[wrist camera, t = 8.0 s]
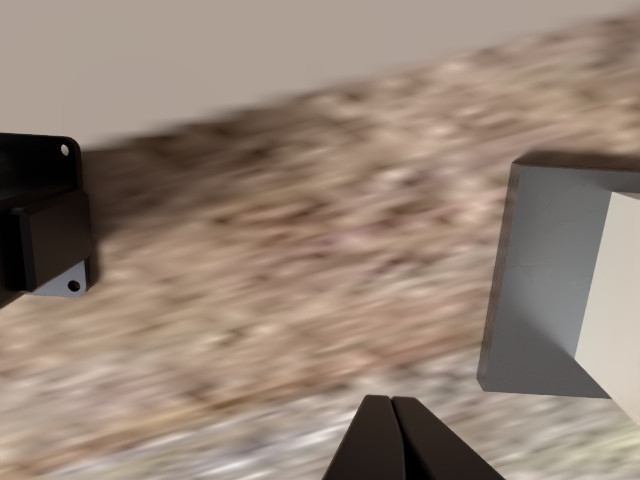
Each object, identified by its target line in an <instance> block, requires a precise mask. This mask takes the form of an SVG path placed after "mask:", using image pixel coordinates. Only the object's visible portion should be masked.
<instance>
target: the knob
mask: <svg viewBox="0 0 640 480" xmlns="http://www.w3.org/2000/svg"><path fill="white" fill-rule="evenodd" d="M575 360H576V361H577V362H578V363H579V364H580V366H581V367H582V368H583V369H584V370H585V371H586V372H587V373H588V374H589V375H590V376H591V377H592V378H593V379H594V380H595V381H596V382H597V383H598V384H599V385H600V386H601V387H602V388H603V389H604V390H605V392H606V393H607V394H608V395H609V396H610V397H611V398H612V399H613V400H614V401H615V402H616V403H617V404H618V405H619V406H620V407H621V408H622V409H623V410H624V411H625V412H626V413H627V414H628V415H629V416H630V418H631V419H632V420H633V421H634V422H635V423H636V424H637V425H638V426H639V427H640V193H626V192H612V194H611V199H610V203H609V208H608V212H607V216H606V221H605V225H604V230H603V234H602V239H601V243H600V248H599V252H598V256H597V261H596V265H595V270H594V274H593V279H592V283H591V288H590V292H589V296H588V301H587V305H586V310H585V314H584V319H583V323H582V328H581V332H580V336H579V341H578V345H577V350H576V354H575Z"/></svg>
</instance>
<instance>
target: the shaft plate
mask: <svg viewBox="0 0 640 480" xmlns="http://www.w3.org/2000/svg"><path fill="white" fill-rule="evenodd" d="M612 192H626V193H640V170H625V169H608V168H592V167H575V166H558V165H542V164H525V163H512V166H511V172H510V178H509V184H508V190H507V196H506V202H505V208H504V214H503V220H502V226H501V233H500V239H499V245H498V251H497V257H496V263H495V269H494V275H493V281H492V287H491V293H490V299H489V305H488V311H487V317H486V323H485V329H484V335H483V341H482V348H481V354H480V360H479V366H478V372H477V380H478V382H479V384H480V386H481V388H482V390H483V391H488V392H505V393H521V394H538V395H555V396H572V397H588V398H605V399H612V398H611V397H610V396H609V395H608V394H607V393H606V392H605V390H604V389H603V388H602V387H601V386H600V385H599V384H598V383H597V382H596V381H595V380H594V379H593V378H592V377H591V376H590V375H589V374H588V373H587V372H586V371H585V370H584V369H583V368H582V367H581V366H580V364H579V363H578V362H577V361H576V360H575V354H576V350H577V345H578V341H579V336H580V332H581V328H582V323H583V319H584V314H585V310H586V305H587V301H588V296H589V292H590V288H591V283H592V279H593V274H594V270H595V265H596V261H597V256H598V252H599V248H600V243H601V239H602V234H603V230H604V225H605V221H606V216H607V212H608V208H609V203H610V199H611V194H612Z"/></svg>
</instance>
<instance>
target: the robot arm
mask: <svg viewBox="0 0 640 480" xmlns="http://www.w3.org/2000/svg"><path fill="white" fill-rule="evenodd" d="M63 144H64V145H66V146H67V147H68V150H69V153H68V155H67V156H65V155H64V154H63V153H62V151H61V146H62V145H63ZM91 254H92V239H91V225H90V212H89V198H88V194H87V193H86V192H85V190H84V189H83V178H82V164H81V151H80V147H79V145H78V143H77V142H76V141H75V140H74V139H72V138H70V137H64V136H48V135H32V134H14V133H0V310H1V309H2V308H4V307H5V306H7V305H9V304H10V303H12V302H13V301H15V300H16V299H18V298H20V297H21V296H23V295H24V294H27V295H44V296H60V297H80V296H82V295H83V294H84V293H86V292H87V291H88V290H89V288H90V284H91V282H90V269H89V255H91ZM73 280H75V281H77V282H78V283H79V285H80V288H76V287H75V286H74V285H73ZM322 480H506V479H504V478H503V477H502V476H501V475H500V474H499V473H498V472H497V471H496V470H495V469H493V468H492V467H491V466H490V465H489V464H488V463H487V462H486V461H485V460H484V459H482V458H481V457H480V456H479V455H478V454H477V453H476V452H475V451H474V450H473V449H471V448H470V447H469V446H468V445H467V444H466V443H465V442H464V441H463V440H462V439H460V438H459V437H458V436H457V435H456V434H455V433H454V432H453V431H452V430H450V429H449V428H448V427H447V426H446V425H445V424H444V423H443V422H442V421H441V420H439V419H438V418H437V417H436V416H435V415H434V414H433V413H432V412H431V411H430V410H428V409H427V408H426V407H425V406H424V405H423V404H422V403H421V402H420V401H419V400H417V399H416V398H414V397H400V396H394V397H392V398H391V399H390V397H388V396H383V395H366V396H365V397H364V399H363V401H362V403H361V405H360V407H359V409H358V410H357V412H356V414H355V416H354V418H353V420H352V422H351V424H350V426H349V428H348V430H347V432H346V434H345V436H344V438H343V440H342V442H341V443H340V445H339V447H338V449H337V451H336V453H335V455H334V457H333V459H332V461H331V463H330V465H329V467H328V469H327V471H326V473H325V475H324V476H323V478H322Z"/></svg>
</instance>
